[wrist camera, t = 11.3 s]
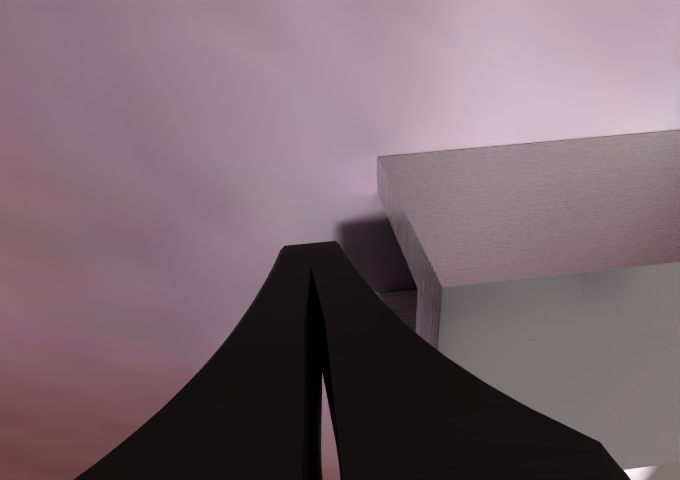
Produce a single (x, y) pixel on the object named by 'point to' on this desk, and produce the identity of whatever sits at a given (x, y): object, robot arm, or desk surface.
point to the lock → (552, 277)
